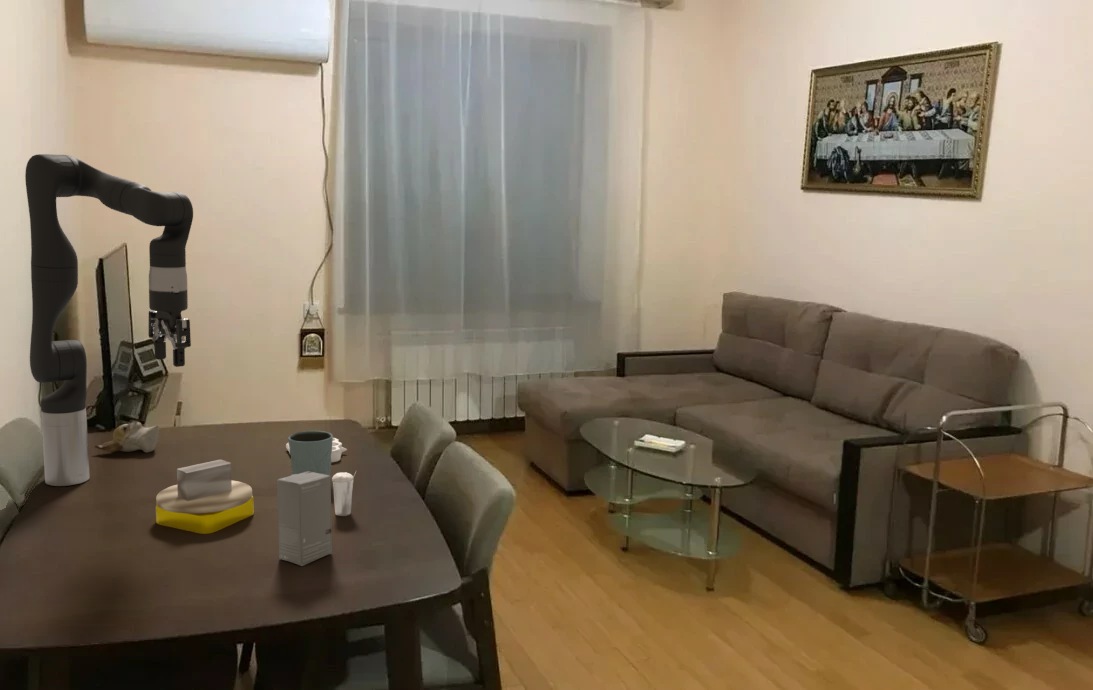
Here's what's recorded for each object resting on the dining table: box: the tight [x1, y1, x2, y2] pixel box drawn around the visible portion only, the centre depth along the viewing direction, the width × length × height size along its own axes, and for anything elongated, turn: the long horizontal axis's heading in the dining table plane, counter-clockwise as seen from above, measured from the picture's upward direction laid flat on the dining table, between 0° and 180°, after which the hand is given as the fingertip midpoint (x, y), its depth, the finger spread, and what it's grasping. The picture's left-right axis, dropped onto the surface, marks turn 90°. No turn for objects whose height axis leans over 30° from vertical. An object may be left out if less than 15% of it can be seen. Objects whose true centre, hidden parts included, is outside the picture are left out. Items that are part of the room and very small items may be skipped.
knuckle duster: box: [285, 437, 348, 463], centre depth 240 cm, size 3×18×15 cm
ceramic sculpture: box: [94, 419, 160, 453], centre depth 237 cm, size 11×9×15 cm
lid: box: [155, 459, 253, 513], centre depth 190 cm, size 19×19×7 cm
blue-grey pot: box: [287, 430, 334, 479], centre depth 214 cm, size 10×10×12 cm
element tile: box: [155, 495, 255, 535], centre depth 191 cm, size 15×15×5 cm
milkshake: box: [331, 471, 357, 517], centre depth 195 cm, size 4×5×10 cm
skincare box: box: [276, 471, 333, 567], centre depth 171 cm, size 8×7×16 cm
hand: (169, 362), depth 193 cm, fingers open, 8 cm apart
